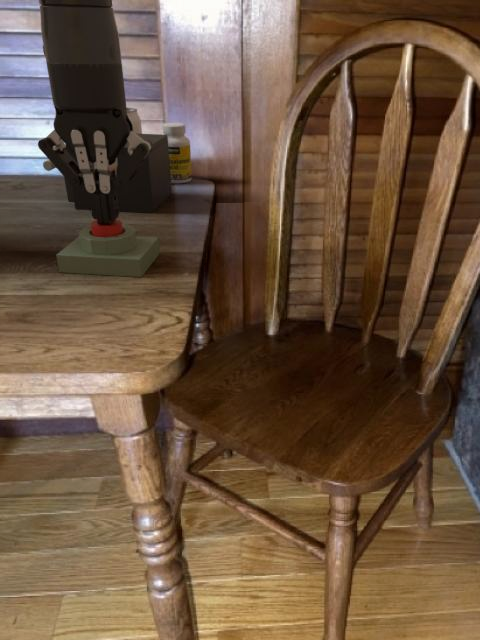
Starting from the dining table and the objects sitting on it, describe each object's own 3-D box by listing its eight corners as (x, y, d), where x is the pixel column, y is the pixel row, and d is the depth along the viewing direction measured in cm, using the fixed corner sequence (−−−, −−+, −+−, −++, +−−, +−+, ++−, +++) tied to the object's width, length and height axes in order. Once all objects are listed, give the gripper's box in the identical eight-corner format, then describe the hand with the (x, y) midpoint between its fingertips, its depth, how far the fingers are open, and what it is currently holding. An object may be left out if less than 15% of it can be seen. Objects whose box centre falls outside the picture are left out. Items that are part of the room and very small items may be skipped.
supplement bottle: (166, 185, 103) (162, 127, 98) (159, 178, 108) (155, 122, 102) (195, 183, 105) (192, 126, 100) (187, 176, 110) (184, 121, 104)
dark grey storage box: (75, 209, 90) (64, 144, 85) (101, 190, 99) (92, 131, 94) (153, 213, 89) (147, 148, 84) (172, 193, 99) (167, 134, 94)
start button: (88, 241, 68) (85, 226, 67) (99, 231, 71) (97, 217, 70) (117, 242, 67) (115, 228, 67) (127, 233, 71) (125, 219, 70)
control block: (59, 272, 68) (53, 240, 66) (84, 249, 75) (79, 219, 72) (141, 277, 67) (137, 244, 65) (159, 253, 74) (157, 223, 72)
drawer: (42, 200, 90) (32, 148, 86) (69, 184, 99) (61, 136, 95) (139, 205, 89) (134, 153, 85) (157, 188, 98) (153, 140, 94)
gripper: (156, 58, 62) (168, 216, 71) (38, 54, 63) (65, 211, 72) (135, 63, 55) (152, 236, 65) (4, 58, 56) (39, 230, 65)
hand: (106, 222), depth 68 cm, fingers closed
